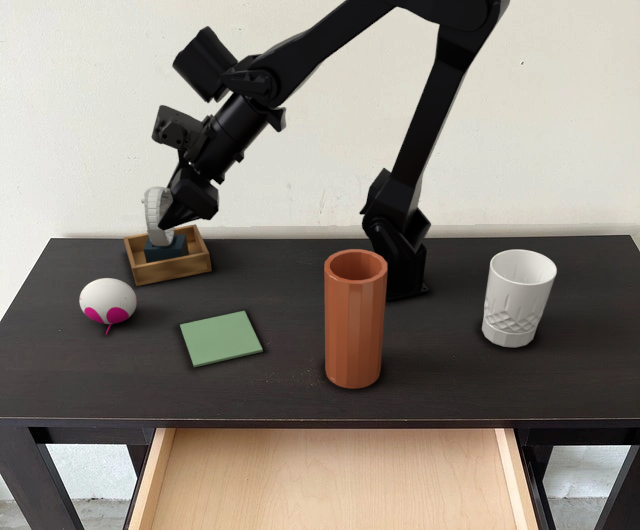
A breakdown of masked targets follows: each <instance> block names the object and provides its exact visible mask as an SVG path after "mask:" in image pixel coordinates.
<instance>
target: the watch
mask: <svg viewBox="0 0 640 530" xmlns="http://www.w3.org/2000/svg"><path fill="white" fill-rule="evenodd" d="M171 200H172V195H171V193H170V189H168V188H166V186H158V185H156V186H150V187H148V188H146V189H145V190H144V193H143V197H141V198H140V202H141V204H143V206H144V218H145V224H146V233H148V235H149V236H148V239H147V241H146V244H145V246H144V249H143V250H144V254H145V259H146V263H152V262H157V261H162V260H167V259H172V258H178V257H183V256H188V254H189V250H188V244H187V238H186V234H174V228H175V227H173V228H170V229H168V230H165V231H163V230H161V229H160V228H159V227H158V223H159V221H160V219H161V217H162V216H163V214H164V212H165V210H166V209H167V207H168V205H169V203H170V201H171Z"/></svg>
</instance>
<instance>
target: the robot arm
mask: <svg viewBox="0 0 640 530" xmlns="http://www.w3.org/2000/svg"><path fill="white" fill-rule="evenodd" d="M510 3H511V0H343V2H341V3H340V4H339V5H337V6H336V7H335V8H334V9H333V10H331V11H330V12H329V13H327V14H326V15H325V16H324V17H323V18H321V19H320V20H319V21H317V22H316V23H315V24H314V25H312V26H311V27H310V28H307V29H306V30H304V31H301V32H299V33H295V34H294V35H292V36H290V37H288V38H286V39H284V40H282V41H280V42H278V43H275V44H274V45H272V46H271V47H269V48H268V49H267V50H266V51H264V52H263V53H256V54H255V53H254V54H247V56H245V57H244V58H242V59H240V60H238V59H237V58H236V57H235V55H233V53H232V52H231V51H230V50H229V49H228V48H227V47H226V45H225V44H223V42H222V41H221V40H220V37H218V35H217V33H216V32H215V31H214V30H213V29H212V28H211V27H210V26H209V25H206V26H204V27H202V28H201V29H199V30H198V32H197V34H196V35H195V36H194V37H193V38H192V39H191V40H190V41H189V42H188V43H187V44H186V45H185V47H184V48H183V49H182V50H180V51H179V52H177V54H176V56H175V57H174V60H173V62H172V63H171V68H173V70H174V71H175V72H176V73H177V74H178V75H179V76H180V77H181V78H182V80H184V81H185V82H186V84H188V85H189V87H190V88H191V89H192V90H193V91H194V92H195V94H197V96H198V97H200V98H201V99H202V101H203V102H204V103H207V104H210V103H211V102H212V100H213V101H214V102H215V103H216V104H218V103H220V102H221V101H223V99H224V98H225V97H226V96H227V95H228V94H229V92H232V93H231V94H230V96H229V97H228V98H227V99H226V100H225V102H224V103H223V105H222V106H221V107H220V108H219V109H218V111H216V113H215V114H214V115H213V114H212V113H211V114H210V115H209V114H207V115H206V116H205V117H204V118H203V120H199V119H197V118H195V117H193V116H191V115H190V114H188V113H185V112H183V111H180V110H178V109H175V108H173V107H171V106H169V105H164V104H160V105H159V106H158V111H157V114H156V118H155V121H154V124H153V129H152V133H151V139H152V141H154V142H155V143H157V144H159V145H165V146H167V147H170V148H173V149H175V150H177V151H176V152H177V158H178V161H177V163H176V166H175V168H174V170H173V172H172V174H171V177H170V178H169V181H168V183H167V185H166V186H165V188H168V189H170V193H171V195H172V200H171V201H170V203H169V205H168V207H167V209H166V210H165V212H164V214H163V216H162V217H161V219H160V221H159V223H158V227H159V228H160V229H161V230H163V231H165V230H168V229H170V228H173V227H174V228H177V227H180V226H183V225H184V224H188V223H190V222H195V221H198V220H203V221H211V220H212V219H213V218H214V217H215V216H216V215H217V213H218V212H219V211H220V193H219V189H218V188H217V187H216V186H214V184H212V183H211V182H212V181H214V182H215V183H216V184H218V185H219V186H222V184H223V183H224V182H225V180H226V173H227V172H228V171H229V170H230V169H231V167H233V165H234V164H235V163H236V162H237V163H238V164H241V163H242V161H243V160H244V159H245V152H246V151H247V150H248V148H249V147H250V146H251V145H252V144H253V143H254V141H255V140H256V139H257V138H258V137H259V135H261V133H262V132H263V131H264V130H265V129H266V128H267V127H268V125H270V126H271V127H272V128H273V129H274V130H275V132H276V133H282V131H284V130H285V129H286V128H287V120H286V113H287V107H285V106H282V105H283V104H285V102H286V101H288V100H289V99H290V98H291V97H292V96H293V95H294V94H295V93H297V92H298V91H299V90H300V89H301V88H302V87H303V86H304V85H305V84H306V83H307V82H308V80H309V79H310V78H311V77H312V76H313V75H314V74H315V73H316V72H317V70H318V69H319V68H320V66H322V64H323V63H324V62H325V61H326V60H327V59H328V58H330V57H331V56H332V55H333V54H335V53H336V52H338V51H339V50H340V49H342V48H344V47H345V46H346V45H347V44H349V43H350V42H351V41H353V40H354V39H355V38H357V37H358V36H359V35H361V34H362V33H363V32H364V31H366V30H368V28H370V27H372V26H373V25H374V24H376V23H377V22H378V21H379V20H381V19H382V18H383V17H385V16H386V15H387V14H389V13H390V12H392V11H393V10H394V9H396V8H400V9H404V10H406V11H408V12H410V13H412V14H413V15H416V16H417V17H419V18H421V19H423V20H425V21H427V22H429V23H432V24H436V25H438V29H437V36H436V44H435V53H434V60H433V64H432V67H431V69H430V72H429V75H428V77H427V79H426V82H425V84H424V87H423V89H422V93H421V95H420V96H419V100H418V103H417V105H416V108H415V110H414V113H413V115H412V118H411V119H410V123H409V126H408V128H407V131H406V133H405V136H404V138H403V140H402V144H401V145H400V148H399V151H398V154H397V156H396V159H395V161H394V163H393V166H392V169H391V171H390V170H388V169H387V168H386V167H383V168H382V169H381V170H380V171H379V173H378V175H377V176H376V177H375V178H374V180H373V182H372V183H371V184H370V186H369V188H368V191H367V195H366V201H365V204H364V205H363V206H362V208H361V209H360V211H359V212H358V214H359V215H361V216H362V215H363V217H362V218H361V219H362V220H361V229H362V230H363V231H364V234H365V236H366V237H367V238H368V240H370V243H371V246H372V249H373V252H374V253H376V254H378V255H380V256H382V257H383V258H384V260H385V261H386V262H387V284H386V298H385V302H393V301H397V300H401V299H406V298H410V297H414V296H418V295H423V294H427V293H428V292H429V288H428V287H427V286H426V284H425V283H424V277H425V270H426V269H425V268H426V260H427V251H428V248H427V247H426V246H425V244H424V243H423V241H424V240H425V238H426V236H427V234H428V232H429V230H430V229H431V227H432V222H431V221H430V220H429V219H428V218H427V216H426V215H425V214H424V212H423V211H422V210H421V209H420V208H419V202H420V199H421V198H420V197H421V193H422V186H423V177H424V173H425V171H426V168H427V166H428V165H429V161H430V159H431V157H432V155H433V152H434V150H435V148H436V145H437V143H438V141H439V138H440V136H441V134H442V131H443V129H444V128H445V125H446V123H447V120H448V118H449V115H450V113H451V111H452V109H453V107H454V105H455V101H456V100H457V97H458V94H459V92H460V90H461V87H462V86H463V83H464V81H465V79H466V77H467V74H468V71H469V70H470V68H471V66H472V64H473V62H474V61H475V59H476V58H477V56H478V55H479V53H480V52H481V51H482V48H483V47H484V45H485V44H486V42H487V40H488V39H489V38H490V36H491V35H492V33H493V31H494V30H495V28H496V27H497V25H498V23H499V22H500V21H501V19H502V17H503V16H504V14H505V13H506V11H507V10H508V7H509V6H510ZM280 106H281V107H280Z"/></svg>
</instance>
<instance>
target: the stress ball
mask: <svg viewBox="0 0 640 530" xmlns="http://www.w3.org/2000/svg"><path fill="white" fill-rule="evenodd" d="M77 299H79V306H80V309H81V311H82V312H83V314H84V315H85V316H86V317H87V318H89V319H90V320H92V321H94V322H95V323H99V324H102V325H103V324H104V325H108V327H107V329H106V333H105V335H107V334H108V332H109V330H110V328H111V326H112V325H114V324H119V323H122V322H124V321H126V320H128V319H129V318H130V317H131V316H132V315H133V314H134V312H135V310H136V309H137V305H138V298H137V295H136V293H135V291H134V289H133V288H132V286H130V285H129V284H128V283H126V282H125V281H123V280H120V279H117V278H111V277H104V278H97V279H95V280H93V281H91V282H89V283H88V284H86V285H85V286H84V288H82V291H81V292H80V295H79V297H78V298H77Z"/></svg>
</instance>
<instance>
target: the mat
mask: <svg viewBox="0 0 640 530" xmlns="http://www.w3.org/2000/svg"><path fill="white" fill-rule="evenodd" d="M179 327H180V329H181V333H182V337H183V339H184V341H185V344H186V348H187V350H188V354H189V356H190V359H191V362H192V365H193V367H194V368H198V367H202V366H206V365H211V364H216V363H220V362H224V361H229V360H232V359H237V358H241V357H245V356H246V357H247V356H250V355H254V354H258V353H263V352H264V350H263V346H262V345H261V343H260V340H259V338H258V336H257V334H256V332H255V330H254V328H253V325H252V324H251V321H250V320H249V317H248V315H247V313H246V311H245V310H242V311H241V310H240V311H236V312H232V313H228V314H227V313H226V314H223V315H217V316H213V317H209V318H204V319H199V320H193V321H190V322H186V323H180V324H179Z"/></svg>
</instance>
